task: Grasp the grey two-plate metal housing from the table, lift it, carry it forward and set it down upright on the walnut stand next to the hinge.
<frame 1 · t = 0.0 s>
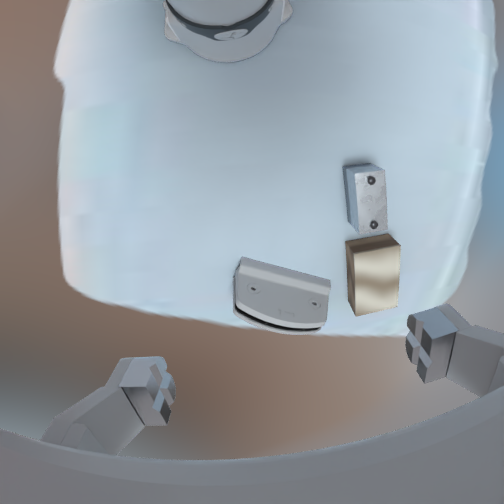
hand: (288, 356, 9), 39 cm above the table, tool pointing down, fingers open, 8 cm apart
stand: (368, 268, 52), on the table
housing: (358, 192, 46), on the table
hinge: (280, 286, 54), on the table
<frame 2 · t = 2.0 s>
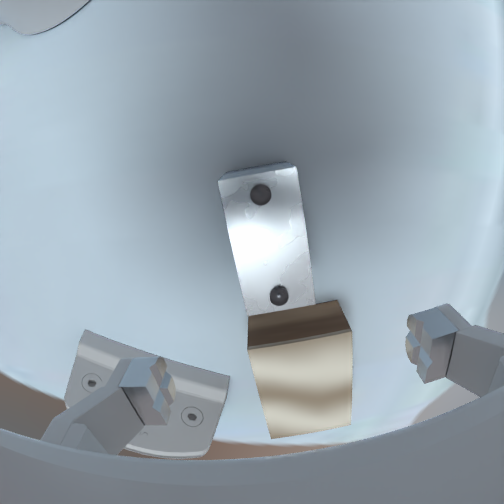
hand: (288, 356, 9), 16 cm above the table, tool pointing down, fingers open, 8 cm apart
stand: (300, 359, 29), on the table
housing: (266, 222, 24), on the table
hinge: (151, 377, 31), on the table
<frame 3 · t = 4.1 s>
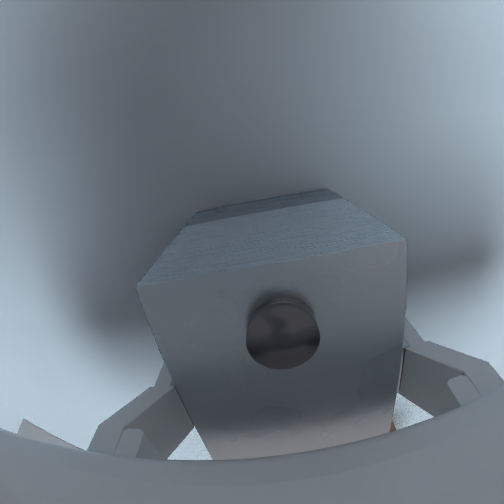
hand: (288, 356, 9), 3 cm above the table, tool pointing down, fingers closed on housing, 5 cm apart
housing: (282, 313, 12), on the table, touching gripper
hinge: (115, 477, 18), on the table
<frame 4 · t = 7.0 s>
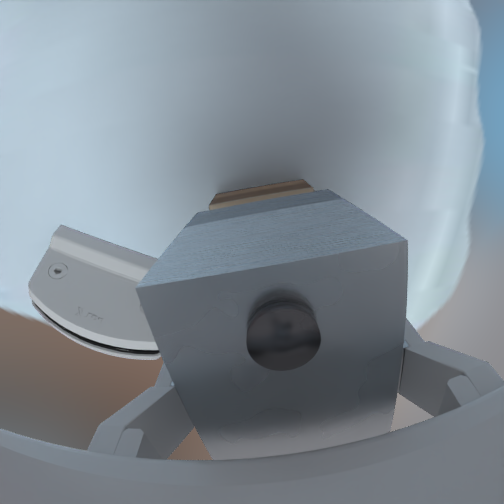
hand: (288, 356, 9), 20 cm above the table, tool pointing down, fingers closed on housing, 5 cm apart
stand: (270, 247, 30), on the table
housing: (282, 314, 12), point 18 cm above the table, touching gripper
hinge: (118, 277, 31), on the table
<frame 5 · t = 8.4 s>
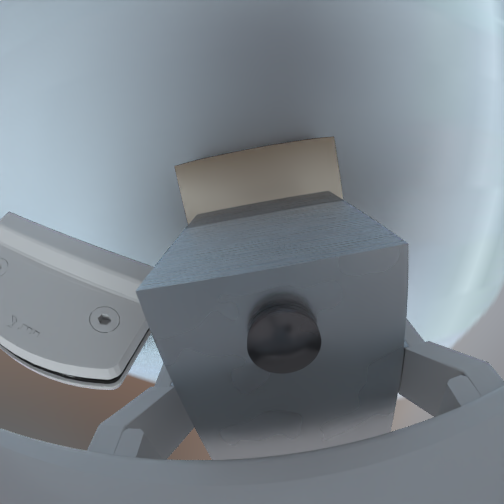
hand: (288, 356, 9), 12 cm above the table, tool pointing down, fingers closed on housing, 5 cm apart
stand: (270, 236, 21), on the table
housing: (282, 315, 12), point 10 cm above the table, touching gripper
hinge: (73, 278, 23), on the table
when the fingers open (9 cm above the table, at t = 9.7 s): housing drops 1 cm, resting on stand.
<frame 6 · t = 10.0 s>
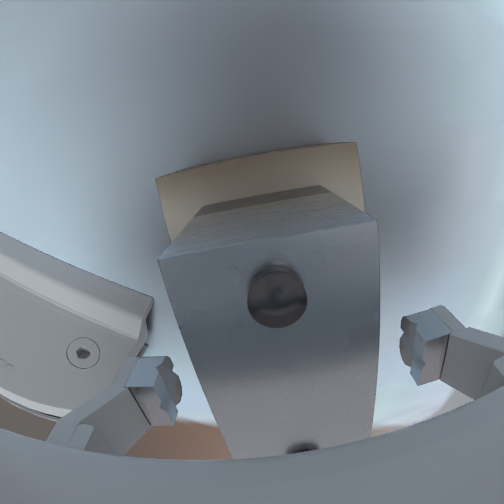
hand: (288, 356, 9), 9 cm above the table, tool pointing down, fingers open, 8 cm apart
stand: (274, 258, 18), on the table
housing: (280, 298, 13), point 5 cm above the table, touching stand
hinge: (53, 300, 20), on the table
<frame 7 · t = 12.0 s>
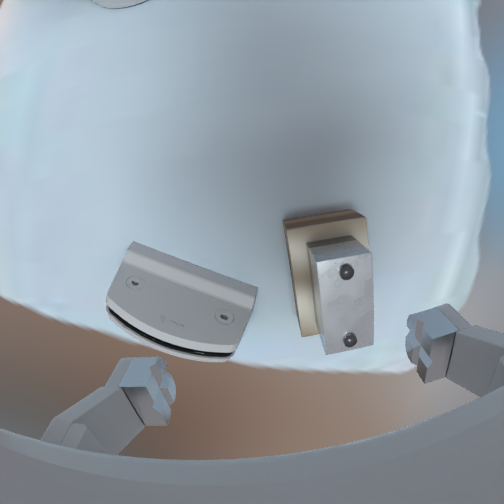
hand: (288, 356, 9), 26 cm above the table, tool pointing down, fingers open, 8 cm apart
stand: (324, 265, 36), on the table
housing: (333, 281, 31), point 5 cm above the table, touching stand
hinge: (185, 291, 37), on the table
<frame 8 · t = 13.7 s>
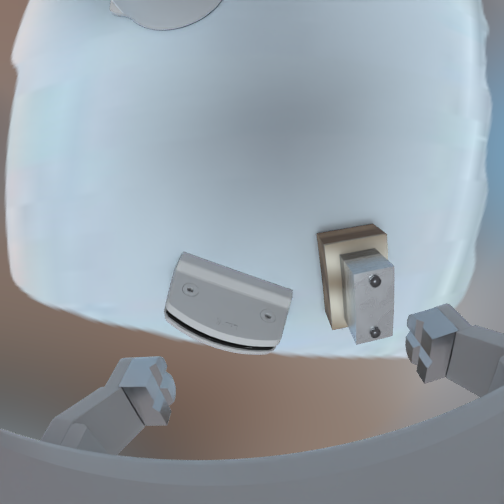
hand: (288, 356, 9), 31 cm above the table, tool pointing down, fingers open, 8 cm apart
stand: (349, 269, 42), on the table
housing: (359, 284, 37), point 5 cm above the table, touching stand
hinge: (229, 293, 44), on the table
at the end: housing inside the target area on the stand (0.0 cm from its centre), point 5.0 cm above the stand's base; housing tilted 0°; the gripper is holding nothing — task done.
